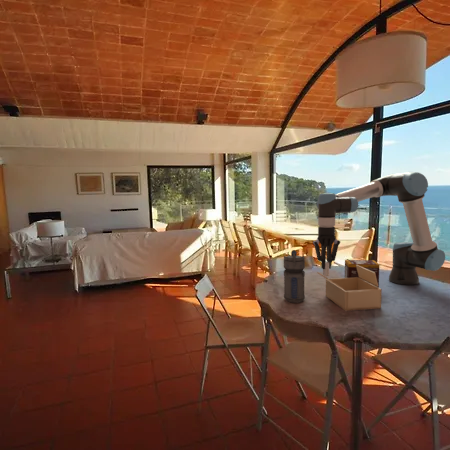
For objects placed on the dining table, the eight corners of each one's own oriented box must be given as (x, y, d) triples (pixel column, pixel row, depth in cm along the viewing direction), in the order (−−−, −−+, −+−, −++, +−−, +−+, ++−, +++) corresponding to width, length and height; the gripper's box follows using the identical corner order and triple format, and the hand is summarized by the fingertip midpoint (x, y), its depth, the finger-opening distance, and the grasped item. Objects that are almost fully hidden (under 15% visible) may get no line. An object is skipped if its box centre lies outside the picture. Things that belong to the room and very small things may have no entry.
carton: (357, 293, 156) (357, 277, 155) (381, 308, 136) (382, 289, 135) (325, 295, 155) (325, 278, 154) (345, 311, 134) (345, 291, 133)
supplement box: (379, 293, 156) (379, 264, 154) (347, 292, 159) (348, 263, 157) (373, 287, 166) (374, 259, 164) (344, 286, 169) (344, 259, 167)
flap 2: (359, 276, 153) (356, 264, 152) (378, 285, 137) (375, 272, 136) (358, 277, 153) (355, 265, 152) (377, 286, 137) (374, 272, 136)
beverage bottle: (304, 295, 156) (304, 248, 153) (305, 304, 143) (305, 253, 141) (284, 294, 158) (283, 248, 156) (283, 303, 145) (283, 253, 143)
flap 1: (327, 278, 151) (317, 271, 150) (343, 288, 136) (331, 280, 135) (327, 279, 151) (317, 272, 150) (342, 289, 136) (331, 281, 135)
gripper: (336, 225, 145) (335, 272, 147) (309, 226, 143) (309, 274, 146) (344, 226, 137) (343, 276, 139) (316, 227, 136) (315, 278, 138)
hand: (326, 275), depth 143 cm, fingers closed
